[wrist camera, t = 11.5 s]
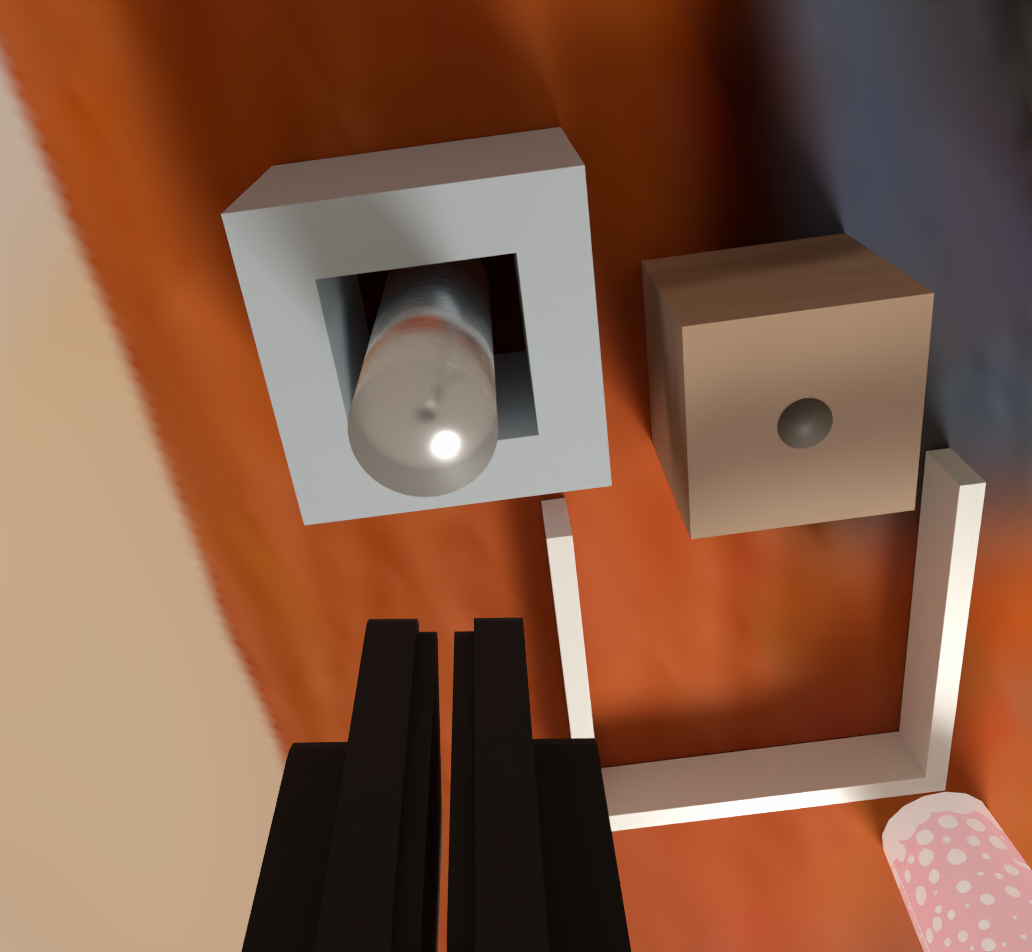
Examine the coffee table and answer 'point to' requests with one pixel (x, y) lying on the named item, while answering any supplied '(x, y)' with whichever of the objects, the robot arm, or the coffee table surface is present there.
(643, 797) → the u-shaped frame
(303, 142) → the coffee table surface
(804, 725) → the coffee table surface
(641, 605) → the coffee table surface
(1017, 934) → the beverage cup
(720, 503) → the walnut block
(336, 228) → the bore block
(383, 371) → the pin
